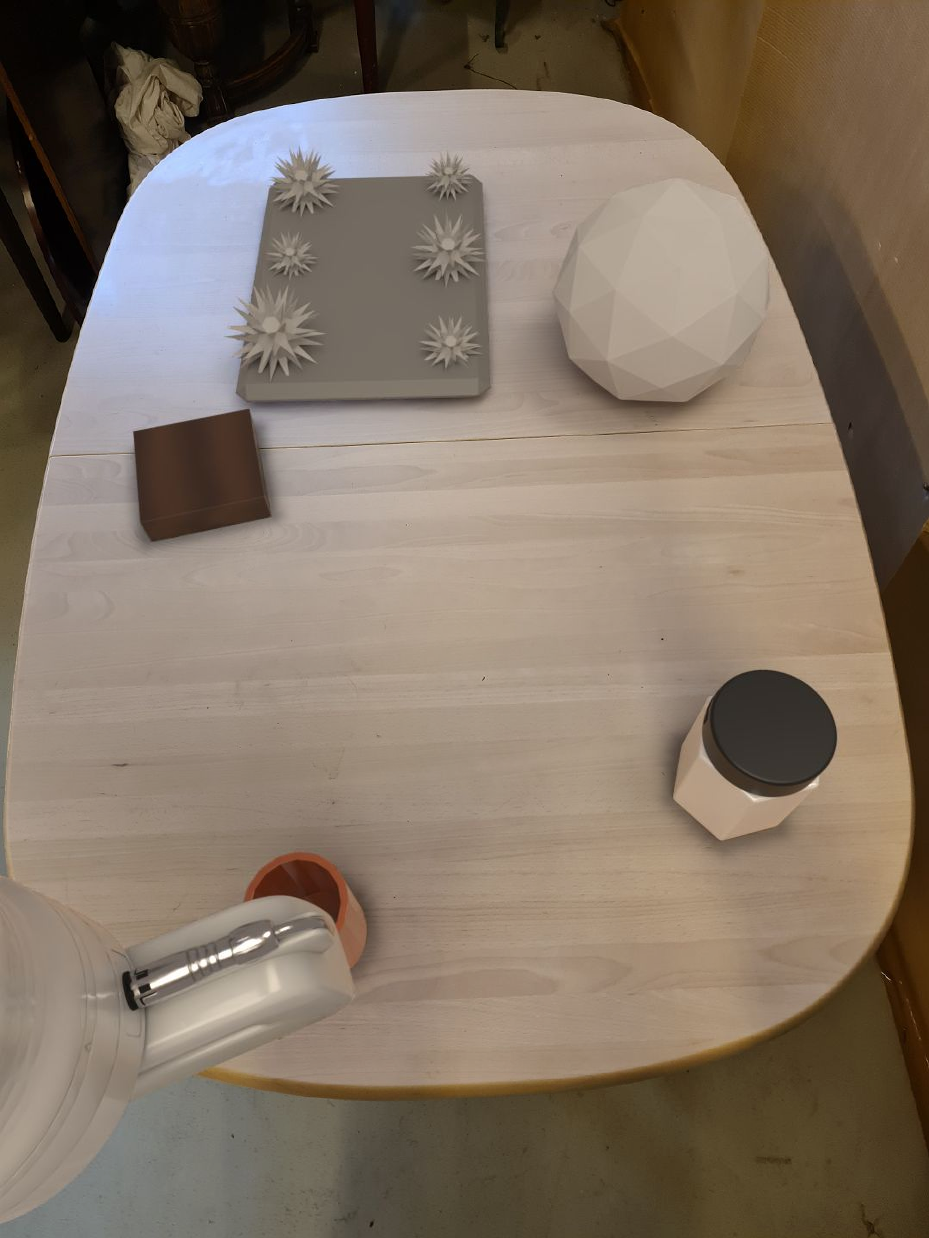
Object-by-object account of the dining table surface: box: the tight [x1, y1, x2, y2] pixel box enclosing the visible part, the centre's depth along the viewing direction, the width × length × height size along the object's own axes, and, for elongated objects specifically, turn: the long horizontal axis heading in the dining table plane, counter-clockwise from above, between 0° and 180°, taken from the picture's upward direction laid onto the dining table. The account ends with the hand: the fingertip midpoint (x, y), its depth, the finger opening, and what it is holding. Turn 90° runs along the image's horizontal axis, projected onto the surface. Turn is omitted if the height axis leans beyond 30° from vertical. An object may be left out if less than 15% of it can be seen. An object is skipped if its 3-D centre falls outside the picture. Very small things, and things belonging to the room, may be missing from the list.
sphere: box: [551, 176, 771, 403], centre depth 79 cm, size 19×20×20 cm
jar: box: [672, 669, 838, 842], centre depth 60 cm, size 9×8×12 cm
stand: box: [132, 408, 272, 543], centre depth 80 cm, size 11×11×3 cm
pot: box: [243, 851, 368, 970], centre depth 56 cm, size 6×6×10 cm
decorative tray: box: [224, 146, 492, 403], centre depth 90 cm, size 35×26×10 cm
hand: (140, 1069), depth 37 cm, fingers open, 8 cm apart
